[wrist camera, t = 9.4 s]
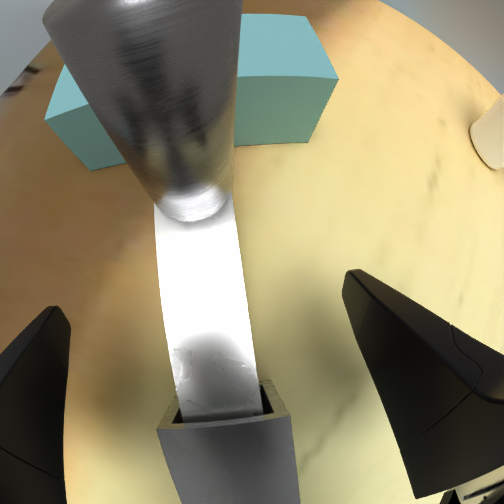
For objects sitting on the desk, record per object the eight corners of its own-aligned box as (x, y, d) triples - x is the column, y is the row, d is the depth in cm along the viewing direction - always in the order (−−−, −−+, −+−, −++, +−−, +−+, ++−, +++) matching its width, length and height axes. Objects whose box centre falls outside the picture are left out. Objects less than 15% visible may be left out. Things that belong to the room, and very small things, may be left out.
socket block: (307, 142, 16) (338, 78, 10) (90, 170, 15) (44, 120, 9) (288, 78, 17) (305, 16, 11) (101, 102, 16) (72, 48, 10)
